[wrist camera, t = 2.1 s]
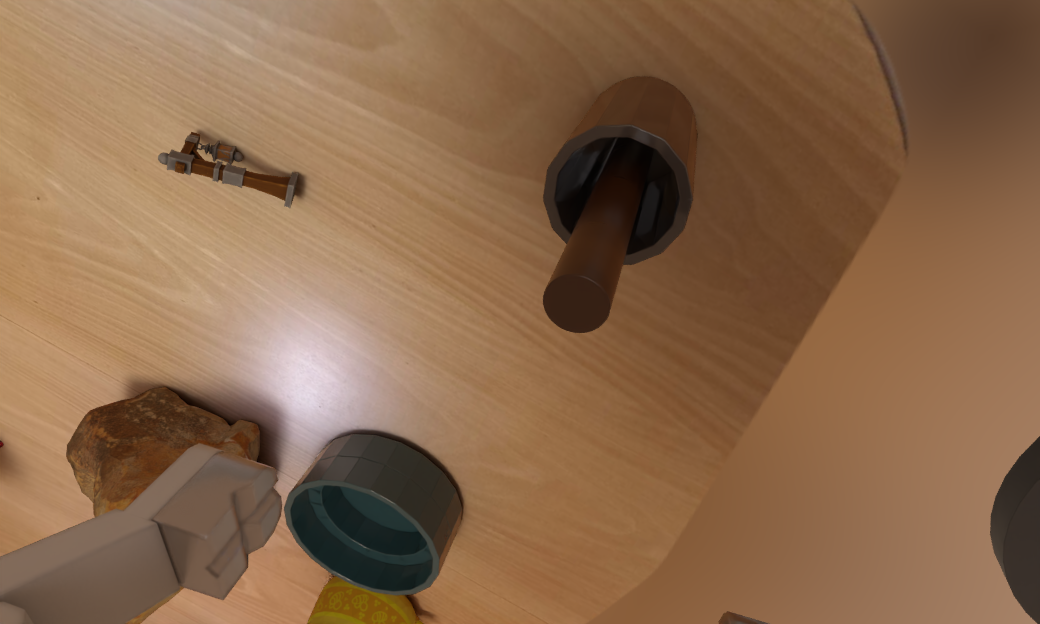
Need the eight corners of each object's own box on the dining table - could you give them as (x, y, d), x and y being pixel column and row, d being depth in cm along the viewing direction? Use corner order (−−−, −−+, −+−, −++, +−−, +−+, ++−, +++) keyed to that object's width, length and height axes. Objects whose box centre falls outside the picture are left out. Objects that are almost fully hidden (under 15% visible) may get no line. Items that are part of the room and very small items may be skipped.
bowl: (469, 456, 50) (442, 512, 45) (459, 556, 58) (436, 614, 53) (316, 411, 52) (275, 460, 47) (327, 513, 60) (293, 564, 55)
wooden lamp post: (177, 119, 39) (153, 150, 36) (304, 155, 42) (293, 187, 38) (176, 143, 40) (153, 176, 37) (300, 177, 43) (289, 210, 39)
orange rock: (160, 309, 52) (-26, 416, 40) (312, 424, 52) (173, 565, 40) (132, 441, 66) (-13, 550, 54) (252, 531, 66) (135, 659, 54)
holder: (711, 86, 30) (710, 140, 22) (679, 197, 34) (669, 280, 26) (596, 65, 31) (555, 110, 23) (577, 176, 35) (535, 248, 26)
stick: (661, 122, 31) (616, 283, 17) (652, 158, 32) (602, 340, 18) (624, 114, 32) (547, 267, 17) (616, 151, 33) (538, 324, 18)
